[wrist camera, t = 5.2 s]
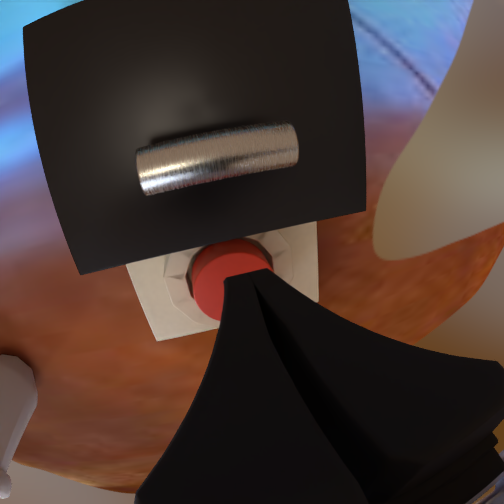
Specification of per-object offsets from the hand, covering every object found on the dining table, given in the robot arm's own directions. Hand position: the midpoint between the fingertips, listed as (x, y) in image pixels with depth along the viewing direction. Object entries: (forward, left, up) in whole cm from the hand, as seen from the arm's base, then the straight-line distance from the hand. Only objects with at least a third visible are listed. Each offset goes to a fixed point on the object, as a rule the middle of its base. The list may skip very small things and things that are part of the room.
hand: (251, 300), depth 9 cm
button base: (-2, +4, -10) cm, 11 cm away
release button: (-1, +3, -8) cm, 8 cm away
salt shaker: (+16, +18, -10) cm, 26 cm away
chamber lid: (+2, -5, -6) cm, 8 cm away
